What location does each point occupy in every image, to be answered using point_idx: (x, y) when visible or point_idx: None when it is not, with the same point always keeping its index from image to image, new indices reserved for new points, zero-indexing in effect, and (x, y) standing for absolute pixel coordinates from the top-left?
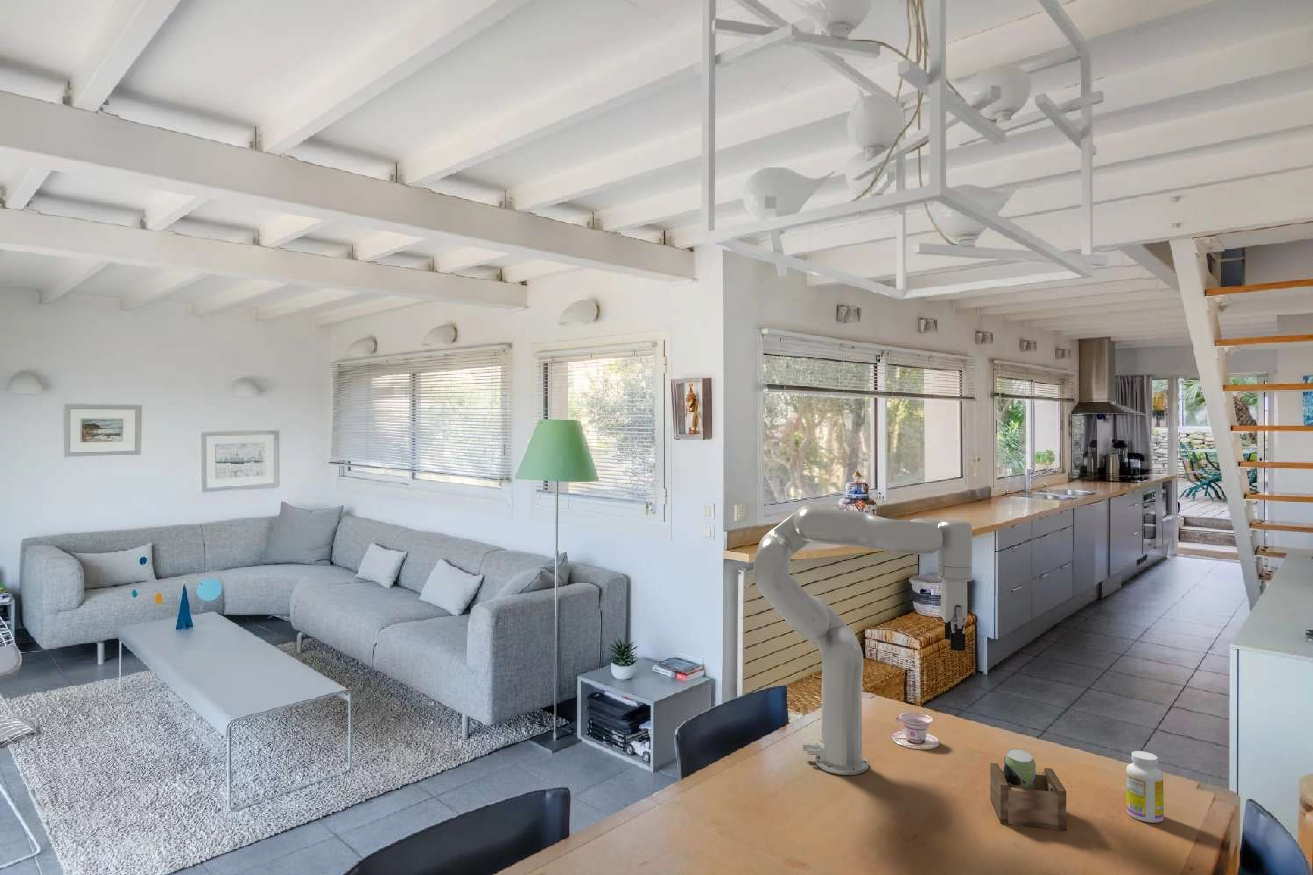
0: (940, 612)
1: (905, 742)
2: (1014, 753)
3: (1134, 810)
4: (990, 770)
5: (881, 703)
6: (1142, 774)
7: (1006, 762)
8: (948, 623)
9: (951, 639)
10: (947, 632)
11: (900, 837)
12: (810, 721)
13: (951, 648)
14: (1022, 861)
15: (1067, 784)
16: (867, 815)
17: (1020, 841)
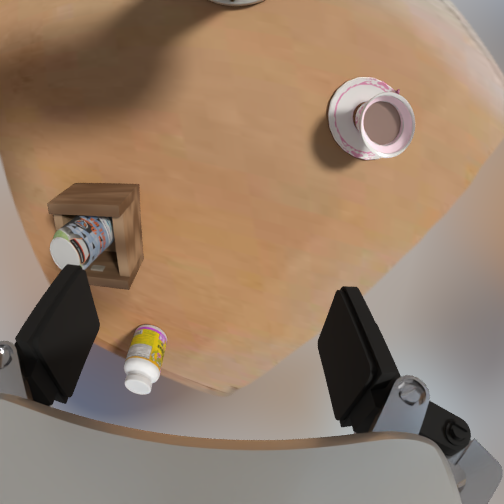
0: (413, 451)
1: (359, 97)
2: (65, 249)
3: (137, 331)
4: (122, 200)
5: (497, 127)
6: (124, 367)
7: (60, 228)
8: (368, 388)
9: (38, 308)
10: (347, 328)
11: (23, 64)
12: None
13: (65, 270)
14: (13, 191)
15: (215, 295)
16: (64, 18)
17: (44, 197)
